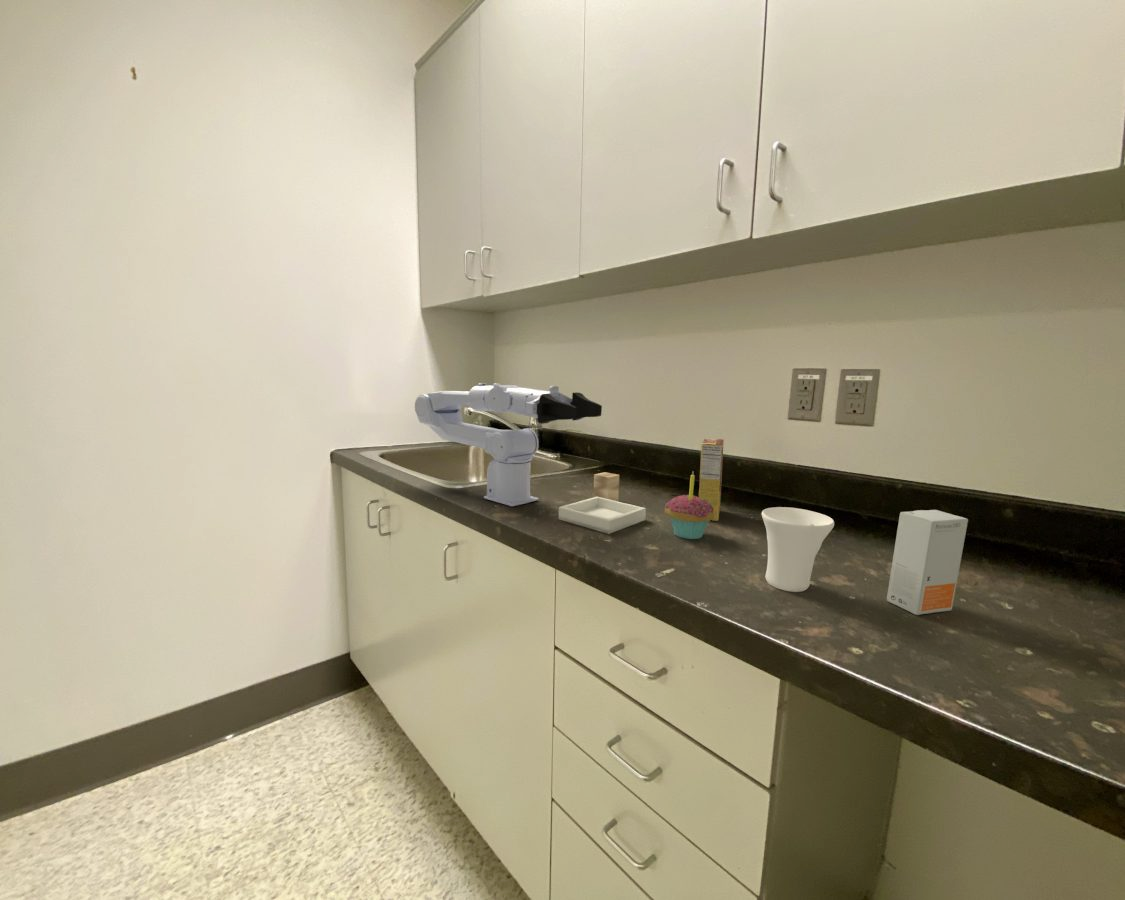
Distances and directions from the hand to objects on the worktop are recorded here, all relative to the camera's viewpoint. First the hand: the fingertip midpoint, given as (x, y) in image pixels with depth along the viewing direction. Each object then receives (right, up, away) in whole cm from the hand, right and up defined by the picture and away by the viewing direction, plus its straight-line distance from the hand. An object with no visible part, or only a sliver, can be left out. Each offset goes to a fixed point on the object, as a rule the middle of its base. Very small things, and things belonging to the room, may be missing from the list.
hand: (588, 411), depth 90 cm
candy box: (+25, -21, +10) cm, 34 cm away
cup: (+27, -26, -23) cm, 44 cm away
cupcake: (+17, -22, -3) cm, 29 cm away
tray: (+3, -21, +4) cm, 21 cm away
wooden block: (+5, -19, +18) cm, 26 cm away
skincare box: (+40, -27, -29) cm, 56 cm away
